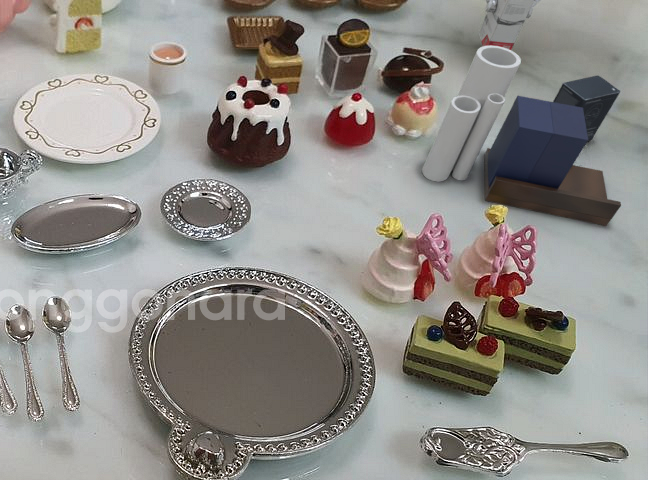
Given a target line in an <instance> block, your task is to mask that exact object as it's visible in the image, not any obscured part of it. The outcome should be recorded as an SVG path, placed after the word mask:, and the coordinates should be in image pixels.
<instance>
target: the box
mask: <svg viewBox="0 0 648 480" xmlns="http://www.w3.org/2000/svg"><path fill="white" fill-rule="evenodd" d="M620 93H621V90H620V89H618V88H617V87H616V86H614V85H613V84H611V83H610V82H609V81H607V80H606V79H605V78H603V77H602V76H600V75H598V74H597V75H593V76H588V77H584V78H579V79H575V80H570V81H565V82H562V84H561V86H560V88H559V90H558V92H557V93H556V96H555V97H554V99H553V101H552V102H555V103H560V104H566V105H571V106H576V107H582V108H583V111H584V118H585V124H586V130H587V136H588V141H587V143H588V142H591V141H592V140H593V138H594V137H595V135H596V133H597V131H598V130H599V128H601V125H602V123H603V122H604V120H605V118H606V117H607V116H608V113H609V111H610V110H611V109H612V107H613V105H614V103H615V101H616V100H617V99H618V97H619V95H620Z"/></svg>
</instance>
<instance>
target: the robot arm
mask: <svg viewBox="0 0 648 480" xmlns="http://www.w3.org/2000/svg"><path fill="white" fill-rule="evenodd" d="M540 1H541V0H534V2H533V4H532V6H531V9H530V11H529V13H528V15H527V17H526V19H529V18H531V16H532V14H533V10H534V7H536V6H537V5H538V4H539V2H540ZM485 2H486V5H485V10H484V12H486V13H487V12H491V13H493V12H494V11H495V9H496V5H497V2H498V1H495V0H485Z"/></svg>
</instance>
